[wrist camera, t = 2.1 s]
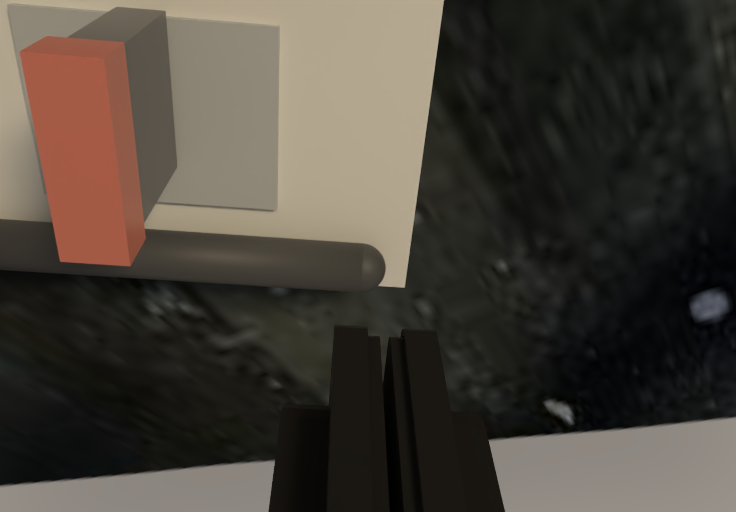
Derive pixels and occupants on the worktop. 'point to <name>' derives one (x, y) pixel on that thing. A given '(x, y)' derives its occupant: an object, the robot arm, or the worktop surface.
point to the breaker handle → (103, 131)
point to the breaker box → (252, 141)
